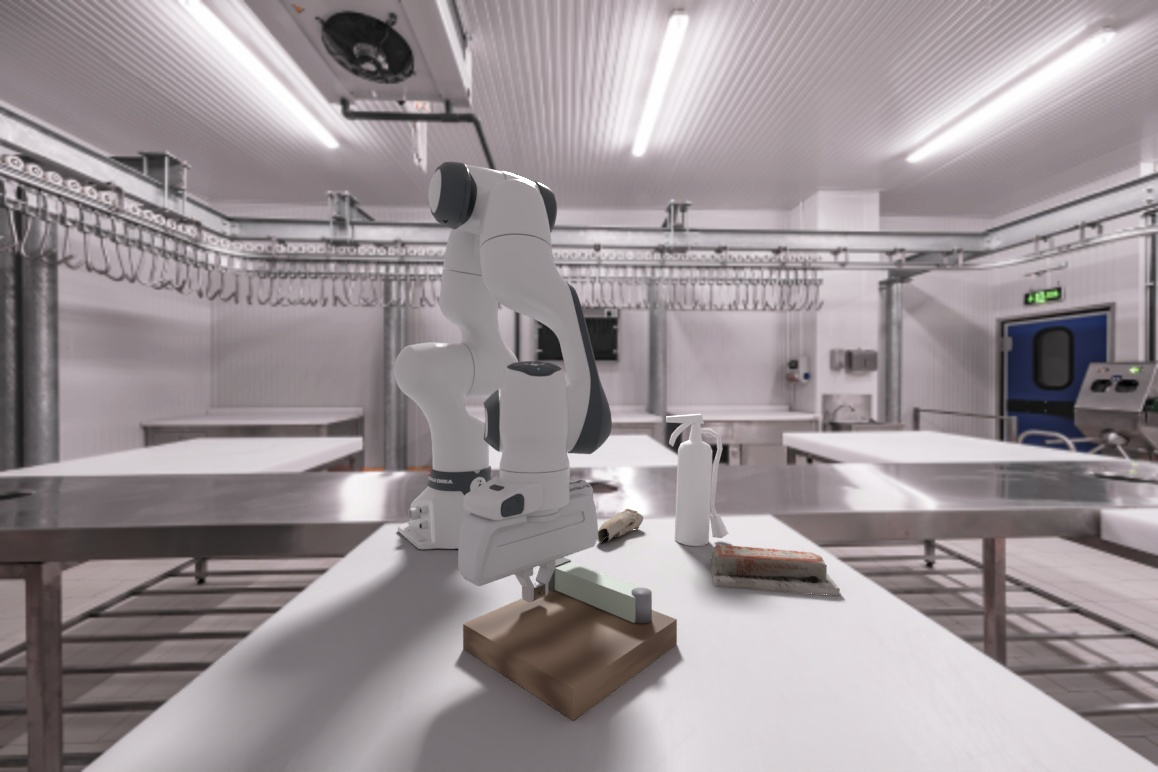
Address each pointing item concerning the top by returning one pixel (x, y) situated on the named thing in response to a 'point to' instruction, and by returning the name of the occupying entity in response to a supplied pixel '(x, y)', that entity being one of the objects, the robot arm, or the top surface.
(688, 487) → the fire extinguisher
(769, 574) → the packaged product
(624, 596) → the hinged leg
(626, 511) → the bone fragment
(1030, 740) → the top surface
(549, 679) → the stool seat
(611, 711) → the top surface
